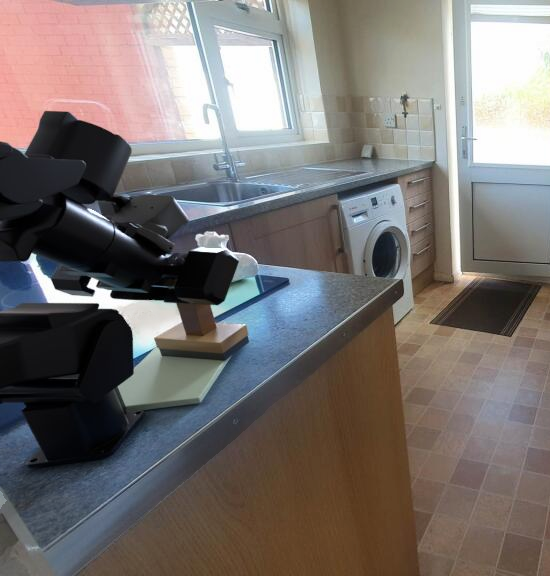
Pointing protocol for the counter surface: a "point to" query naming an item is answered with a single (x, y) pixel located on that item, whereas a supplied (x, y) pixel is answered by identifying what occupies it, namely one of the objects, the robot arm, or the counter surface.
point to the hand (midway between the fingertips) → (201, 298)
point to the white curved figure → (246, 262)
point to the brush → (201, 335)
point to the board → (169, 381)
